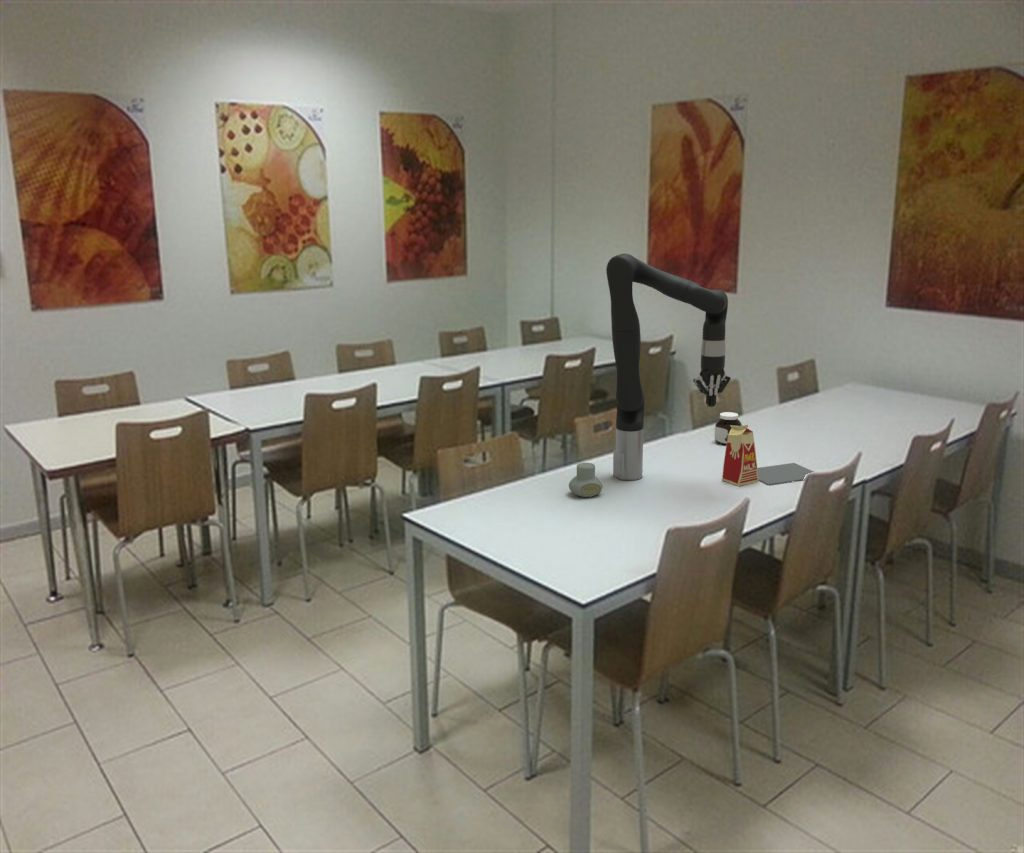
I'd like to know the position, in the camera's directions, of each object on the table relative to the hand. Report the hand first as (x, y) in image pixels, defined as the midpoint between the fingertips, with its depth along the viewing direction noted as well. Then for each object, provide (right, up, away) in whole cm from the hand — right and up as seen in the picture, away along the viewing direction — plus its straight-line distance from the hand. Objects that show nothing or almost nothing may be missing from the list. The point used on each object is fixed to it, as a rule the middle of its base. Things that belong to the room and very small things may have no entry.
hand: (710, 406), depth 278 cm
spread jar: (+21, -13, +55) cm, 60 cm away
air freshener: (-40, -29, +1) cm, 50 cm away
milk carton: (+12, -25, +11) cm, 30 cm away
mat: (+28, -23, +16) cm, 40 cm away
